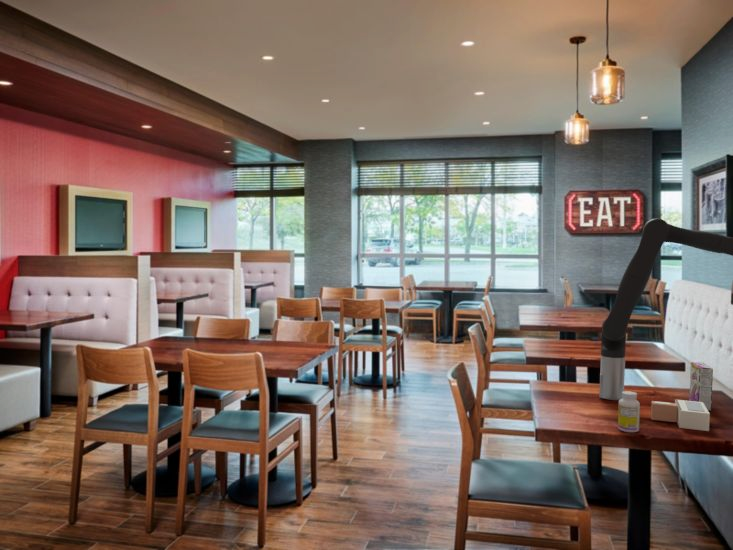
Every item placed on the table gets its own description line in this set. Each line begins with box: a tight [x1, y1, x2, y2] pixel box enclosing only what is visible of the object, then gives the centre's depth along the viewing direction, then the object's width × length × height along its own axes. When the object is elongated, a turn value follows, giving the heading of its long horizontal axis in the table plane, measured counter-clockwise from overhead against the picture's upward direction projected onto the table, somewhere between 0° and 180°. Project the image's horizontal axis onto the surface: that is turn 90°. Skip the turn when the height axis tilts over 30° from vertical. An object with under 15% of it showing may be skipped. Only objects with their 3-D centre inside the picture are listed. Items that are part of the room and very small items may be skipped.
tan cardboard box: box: [650, 400, 677, 423], centre depth 218 cm, size 8×4×6 cm, turn 68°
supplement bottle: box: [617, 390, 641, 433], centre depth 206 cm, size 7×7×13 cm
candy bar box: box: [688, 361, 714, 411], centre depth 237 cm, size 11×5×16 cm, turn 168°
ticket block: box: [674, 399, 711, 432], centre depth 215 cm, size 9×16×6 cm, turn 159°
